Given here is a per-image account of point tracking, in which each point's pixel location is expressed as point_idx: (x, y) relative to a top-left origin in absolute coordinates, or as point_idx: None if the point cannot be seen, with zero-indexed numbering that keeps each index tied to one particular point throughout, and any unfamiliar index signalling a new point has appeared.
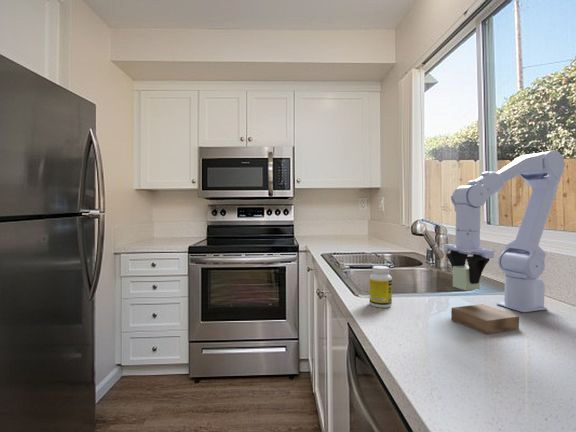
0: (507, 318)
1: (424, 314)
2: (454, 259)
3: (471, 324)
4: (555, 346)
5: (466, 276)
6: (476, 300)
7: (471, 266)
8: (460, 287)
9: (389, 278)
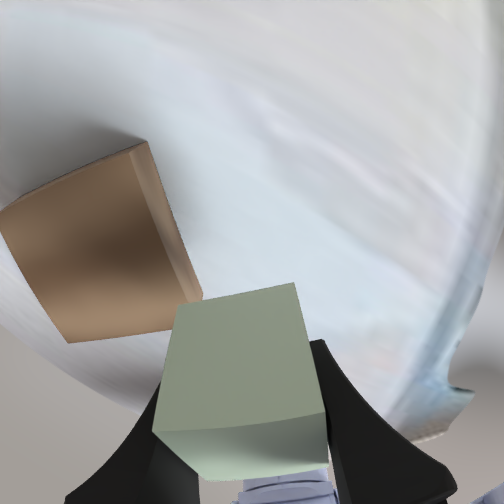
0: (40, 301)
1: (229, 46)
2: (343, 482)
3: (52, 181)
4: (2, 309)
5: (164, 381)
6: (371, 356)
7: (120, 463)
8: (222, 302)
9: None
